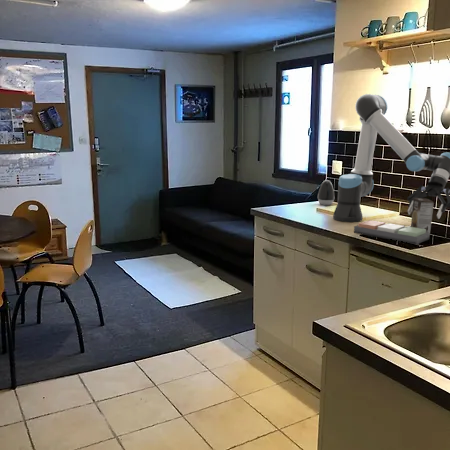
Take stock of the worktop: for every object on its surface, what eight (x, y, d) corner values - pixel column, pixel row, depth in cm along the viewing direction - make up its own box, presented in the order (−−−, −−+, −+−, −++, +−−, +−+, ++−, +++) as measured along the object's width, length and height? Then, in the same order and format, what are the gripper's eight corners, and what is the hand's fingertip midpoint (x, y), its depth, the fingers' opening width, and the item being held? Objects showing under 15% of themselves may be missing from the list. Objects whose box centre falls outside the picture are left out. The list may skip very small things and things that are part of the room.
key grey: (377, 231, 223) (377, 226, 222) (388, 227, 231) (388, 223, 230) (394, 234, 217) (394, 229, 217) (404, 230, 225) (405, 225, 225)
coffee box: (409, 230, 236) (413, 197, 232) (423, 231, 235) (426, 197, 232) (416, 235, 227) (419, 200, 223) (430, 235, 227) (434, 201, 223)
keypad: (353, 232, 230) (354, 226, 229) (367, 228, 239) (368, 222, 239) (416, 244, 210) (417, 237, 209) (429, 239, 219) (429, 232, 219)
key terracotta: (358, 227, 229) (358, 223, 229) (369, 224, 237) (369, 220, 236) (374, 230, 224) (374, 226, 223) (385, 227, 232) (385, 222, 231)
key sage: (397, 235, 216) (398, 230, 216) (408, 231, 224) (408, 226, 224) (415, 238, 211) (415, 233, 210) (425, 234, 219) (426, 229, 218)
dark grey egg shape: (317, 205, 300) (318, 180, 297) (317, 202, 310) (318, 178, 307) (334, 206, 298) (336, 181, 295) (333, 203, 308) (335, 179, 305)
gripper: (467, 187, 230) (452, 223, 223) (414, 182, 247) (399, 216, 239) (464, 177, 225) (449, 213, 218) (411, 173, 242) (395, 206, 234)
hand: (423, 215), depth 228 cm, fingers open, 13 cm apart
